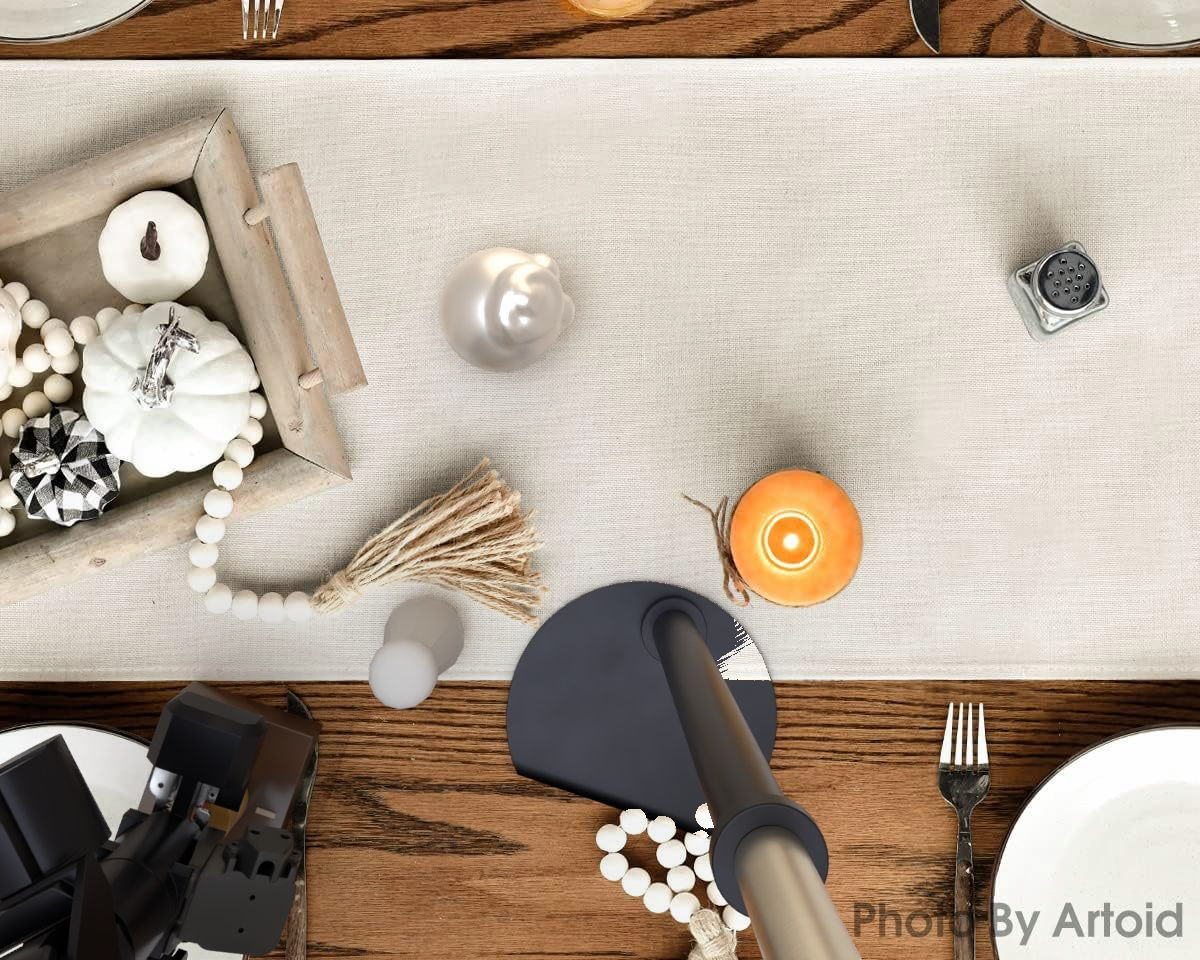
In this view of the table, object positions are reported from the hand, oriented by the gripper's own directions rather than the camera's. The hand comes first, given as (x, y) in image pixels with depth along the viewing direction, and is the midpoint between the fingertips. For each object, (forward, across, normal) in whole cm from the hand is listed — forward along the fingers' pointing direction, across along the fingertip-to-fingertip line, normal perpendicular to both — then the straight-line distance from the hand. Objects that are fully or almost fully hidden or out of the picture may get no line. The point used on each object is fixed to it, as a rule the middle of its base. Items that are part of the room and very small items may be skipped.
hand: (215, 799), depth 73 cm
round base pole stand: (+4, +14, -27) cm, 31 cm away
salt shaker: (+4, +15, -10) cm, 18 cm away
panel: (+4, 0, 0) cm, 4 cm away
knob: (0, 0, 0) cm, 0 cm away
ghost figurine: (+4, +39, -8) cm, 40 cm away
